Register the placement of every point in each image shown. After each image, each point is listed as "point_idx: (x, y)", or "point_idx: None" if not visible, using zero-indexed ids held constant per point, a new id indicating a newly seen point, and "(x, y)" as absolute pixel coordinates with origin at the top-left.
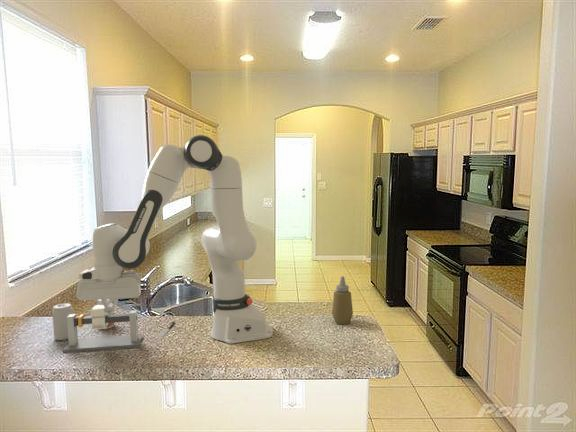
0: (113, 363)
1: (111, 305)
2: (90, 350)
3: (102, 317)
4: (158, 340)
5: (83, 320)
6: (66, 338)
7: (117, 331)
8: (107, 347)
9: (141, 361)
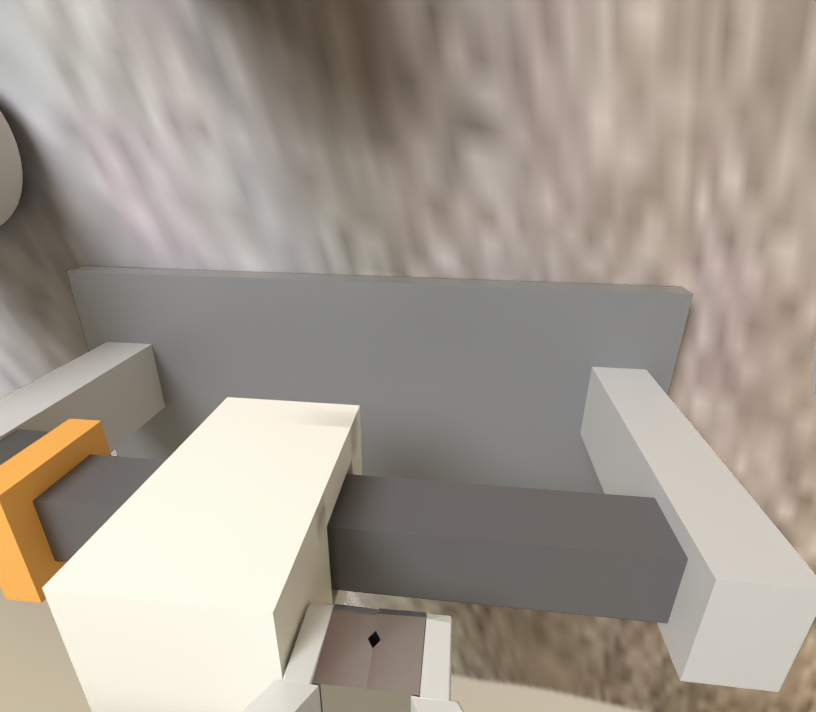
0: (492, 641)
1: (379, 692)
2: None
3: None
4: (814, 392)
5: None
6: (4, 222)
7: (402, 53)
8: (412, 475)
9: (651, 660)
